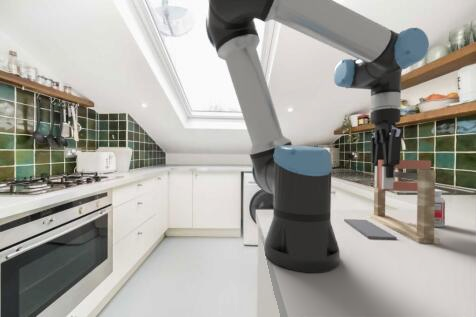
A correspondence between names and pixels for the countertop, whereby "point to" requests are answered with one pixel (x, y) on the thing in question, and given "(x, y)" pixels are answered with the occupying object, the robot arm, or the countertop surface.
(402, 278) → the countertop surface
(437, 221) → the pill bottle
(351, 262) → the countertop surface
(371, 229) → the mat
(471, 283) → the countertop surface
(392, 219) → the stand
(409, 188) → the c link
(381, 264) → the countertop surface
